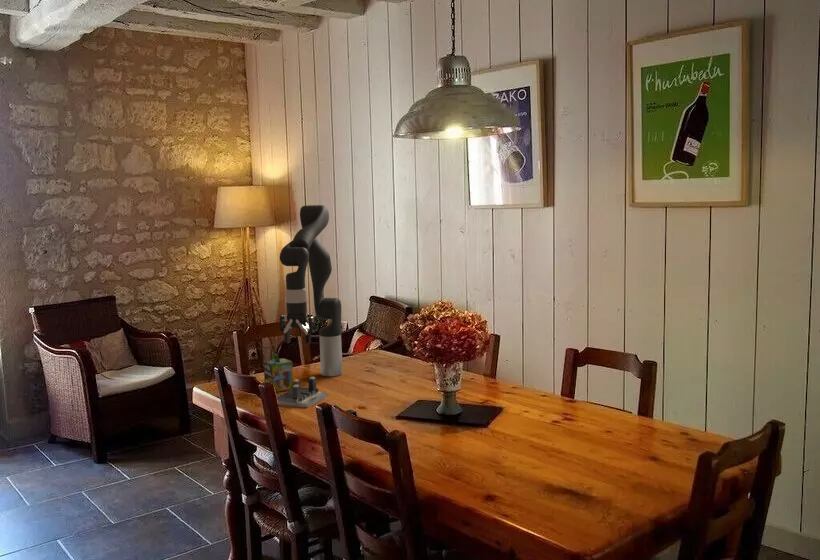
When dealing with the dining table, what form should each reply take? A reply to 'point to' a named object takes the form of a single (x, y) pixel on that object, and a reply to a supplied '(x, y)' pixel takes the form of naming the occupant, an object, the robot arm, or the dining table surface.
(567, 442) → the dining table surface
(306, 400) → the grey pegged base plate
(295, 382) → the breaker
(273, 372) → the chalk box
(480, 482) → the dining table surface
